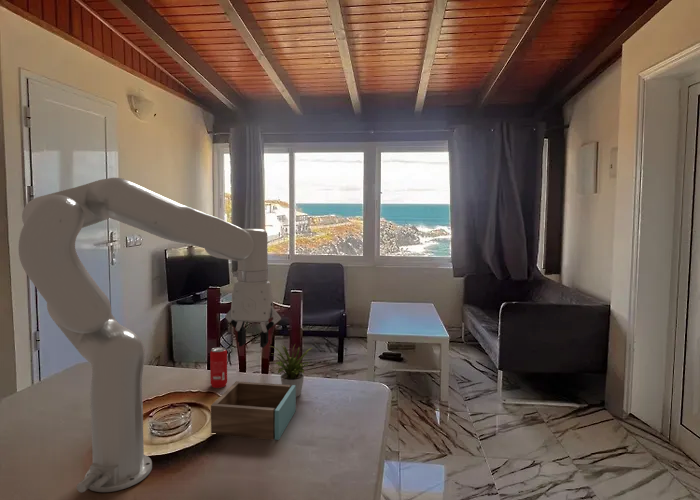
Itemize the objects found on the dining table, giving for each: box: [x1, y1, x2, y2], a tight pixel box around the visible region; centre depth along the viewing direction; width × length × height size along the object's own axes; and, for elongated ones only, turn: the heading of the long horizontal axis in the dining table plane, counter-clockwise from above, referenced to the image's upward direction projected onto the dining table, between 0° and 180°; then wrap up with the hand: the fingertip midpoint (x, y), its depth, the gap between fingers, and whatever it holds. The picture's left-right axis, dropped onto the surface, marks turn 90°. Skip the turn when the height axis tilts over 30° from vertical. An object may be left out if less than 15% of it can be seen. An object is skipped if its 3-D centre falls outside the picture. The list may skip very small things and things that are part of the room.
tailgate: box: [274, 385, 297, 441], centre depth 114 cm, size 16×1×7 cm, turn 172°
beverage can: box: [209, 346, 228, 389], centre depth 140 cm, size 5×5×12 cm
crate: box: [210, 380, 291, 441], centre depth 115 cm, size 16×16×8 cm
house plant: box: [270, 344, 314, 398], centre depth 133 cm, size 14×14×16 cm
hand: (253, 344), depth 113 cm, fingers open, 5 cm apart
